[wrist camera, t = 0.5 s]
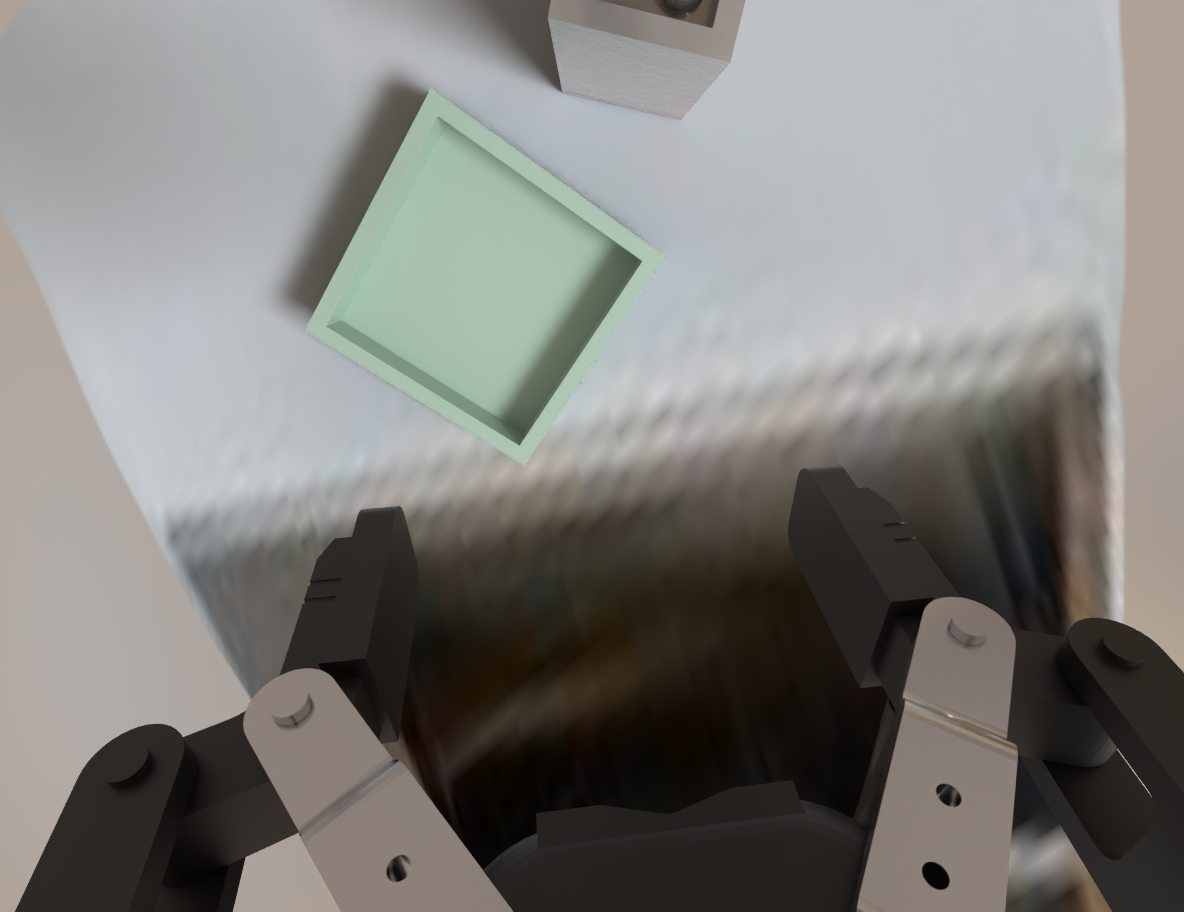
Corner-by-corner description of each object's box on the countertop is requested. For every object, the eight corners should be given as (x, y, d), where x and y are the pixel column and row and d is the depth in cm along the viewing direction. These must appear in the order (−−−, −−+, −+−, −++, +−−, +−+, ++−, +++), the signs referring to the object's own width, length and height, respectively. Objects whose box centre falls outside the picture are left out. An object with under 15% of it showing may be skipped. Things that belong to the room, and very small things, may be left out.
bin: (444, 100, 32) (430, 88, 29) (659, 254, 35) (665, 256, 32) (327, 322, 36) (304, 330, 33) (529, 447, 38) (524, 465, 35)
